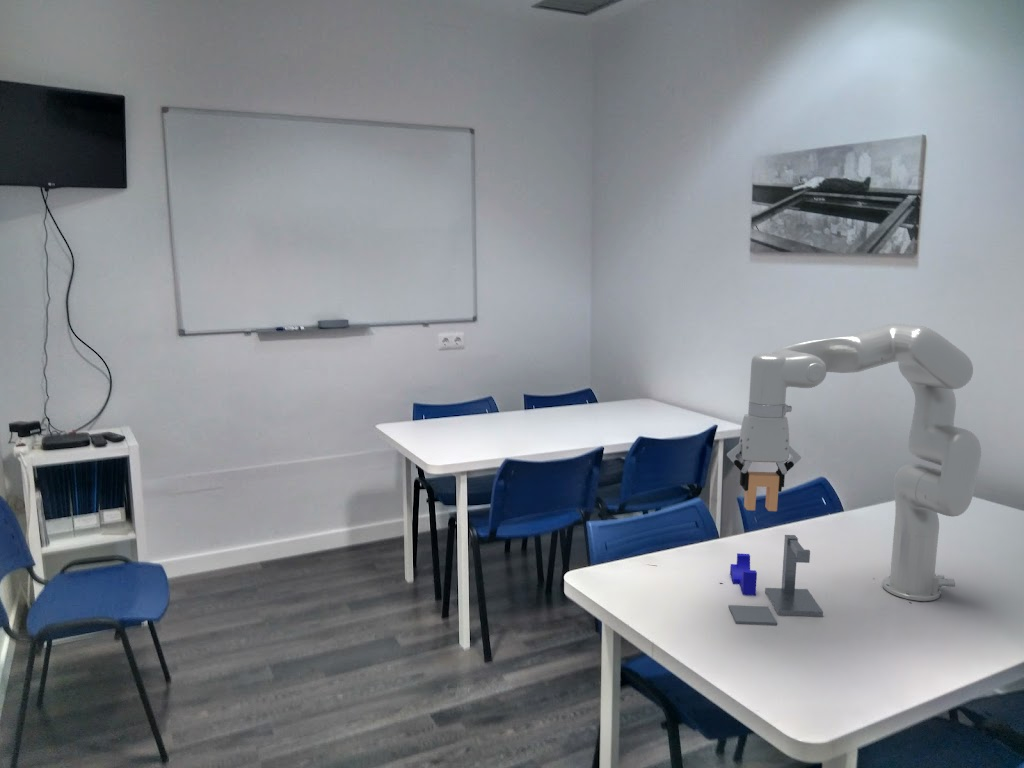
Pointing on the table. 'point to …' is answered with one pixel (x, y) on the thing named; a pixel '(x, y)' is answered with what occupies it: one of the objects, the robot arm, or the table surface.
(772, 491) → the c link
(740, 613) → the mat
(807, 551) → the stand
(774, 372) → the robot arm
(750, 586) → the blue toy block
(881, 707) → the table surface
